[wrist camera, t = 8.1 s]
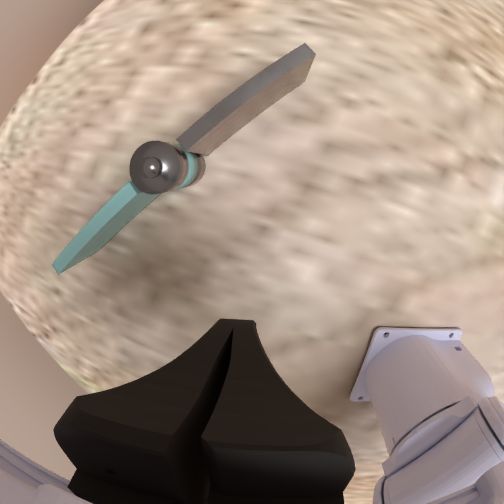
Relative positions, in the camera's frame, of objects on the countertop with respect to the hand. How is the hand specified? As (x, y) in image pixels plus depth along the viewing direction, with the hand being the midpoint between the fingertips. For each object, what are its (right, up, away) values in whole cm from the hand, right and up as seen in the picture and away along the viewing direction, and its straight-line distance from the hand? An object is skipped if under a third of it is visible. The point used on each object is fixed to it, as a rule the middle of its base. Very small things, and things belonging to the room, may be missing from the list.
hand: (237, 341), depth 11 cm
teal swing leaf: (-7, +7, +8) cm, 13 cm away
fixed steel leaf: (0, +11, +6) cm, 13 cm away
